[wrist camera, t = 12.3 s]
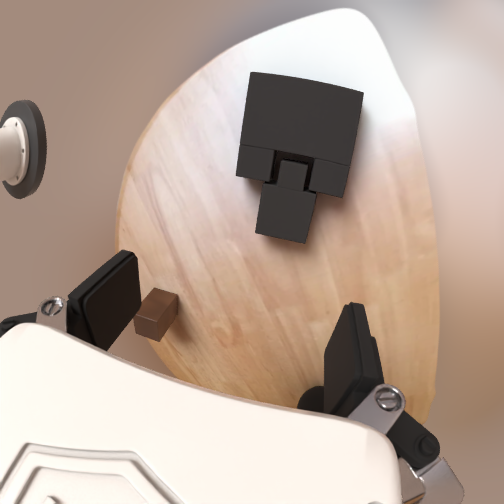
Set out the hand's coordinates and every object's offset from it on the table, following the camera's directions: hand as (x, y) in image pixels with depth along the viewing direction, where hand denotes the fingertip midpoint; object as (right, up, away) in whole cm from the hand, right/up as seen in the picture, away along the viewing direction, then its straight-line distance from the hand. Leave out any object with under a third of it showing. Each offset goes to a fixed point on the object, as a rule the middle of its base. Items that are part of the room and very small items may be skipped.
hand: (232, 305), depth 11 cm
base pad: (+5, +14, +13) cm, 19 cm away
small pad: (+5, +8, +16) cm, 18 cm away
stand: (-11, -5, +25) cm, 28 cm away
